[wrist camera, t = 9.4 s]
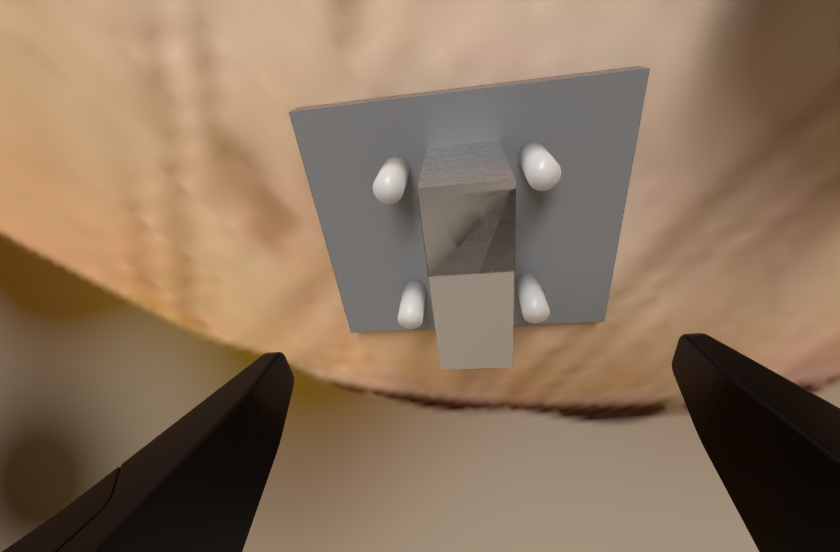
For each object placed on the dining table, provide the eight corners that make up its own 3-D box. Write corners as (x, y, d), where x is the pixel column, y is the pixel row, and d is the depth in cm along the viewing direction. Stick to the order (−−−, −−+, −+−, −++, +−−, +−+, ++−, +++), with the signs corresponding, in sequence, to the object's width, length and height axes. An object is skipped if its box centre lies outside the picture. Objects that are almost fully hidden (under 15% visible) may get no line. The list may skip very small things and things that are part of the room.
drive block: (499, 139, 16) (516, 179, 11) (500, 296, 20) (513, 367, 16) (426, 147, 16) (416, 188, 12) (442, 299, 20) (440, 369, 16)
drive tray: (638, 66, 15) (684, 74, 12) (598, 310, 21) (621, 355, 18) (296, 107, 16) (263, 124, 14) (354, 321, 23) (340, 364, 20)
